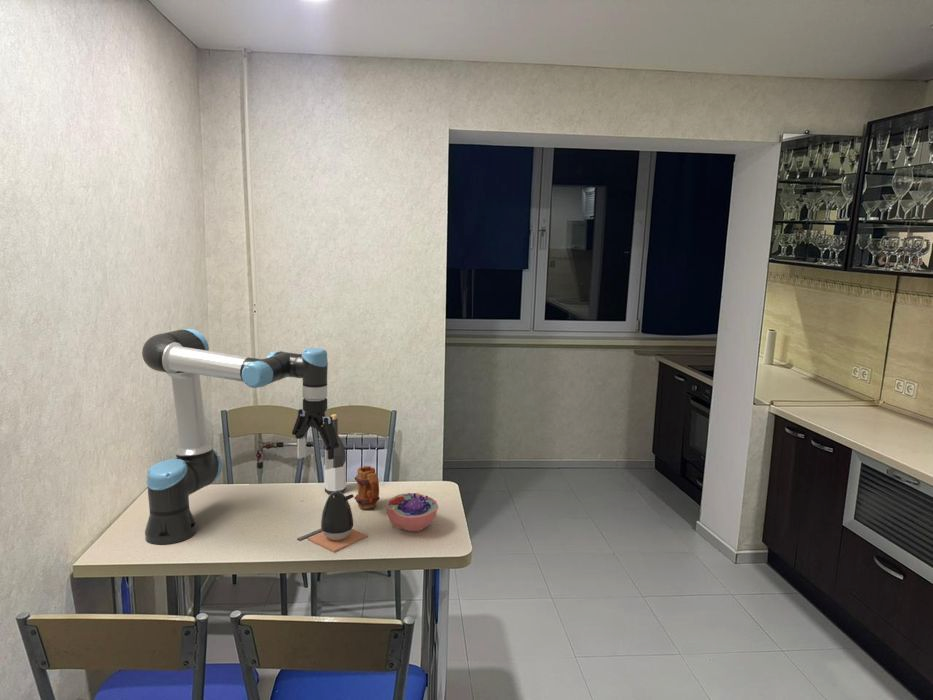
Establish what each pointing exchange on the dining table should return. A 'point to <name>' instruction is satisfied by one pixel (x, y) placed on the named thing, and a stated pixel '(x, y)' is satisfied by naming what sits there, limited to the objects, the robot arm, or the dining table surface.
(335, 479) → the wine bottle
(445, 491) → the dining table surface
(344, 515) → the pump dispenser
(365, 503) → the mug
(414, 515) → the cell model
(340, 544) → the mat
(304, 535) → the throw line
